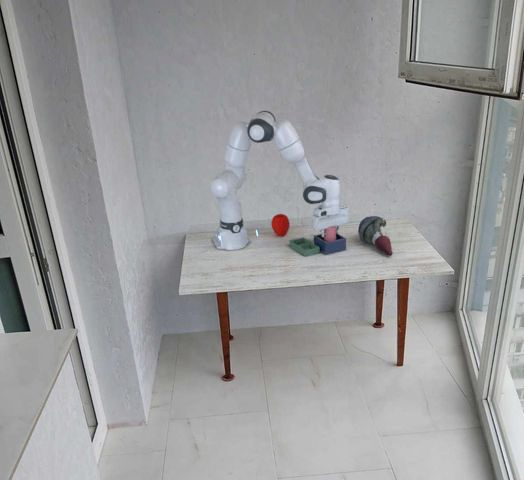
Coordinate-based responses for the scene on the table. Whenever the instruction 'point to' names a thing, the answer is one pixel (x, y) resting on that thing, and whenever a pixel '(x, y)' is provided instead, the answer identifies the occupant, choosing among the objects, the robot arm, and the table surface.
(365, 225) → the figurine
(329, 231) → the cup
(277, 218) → the red rounded egg shape
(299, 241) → the rack
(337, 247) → the navy blue open box
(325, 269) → the table surface
